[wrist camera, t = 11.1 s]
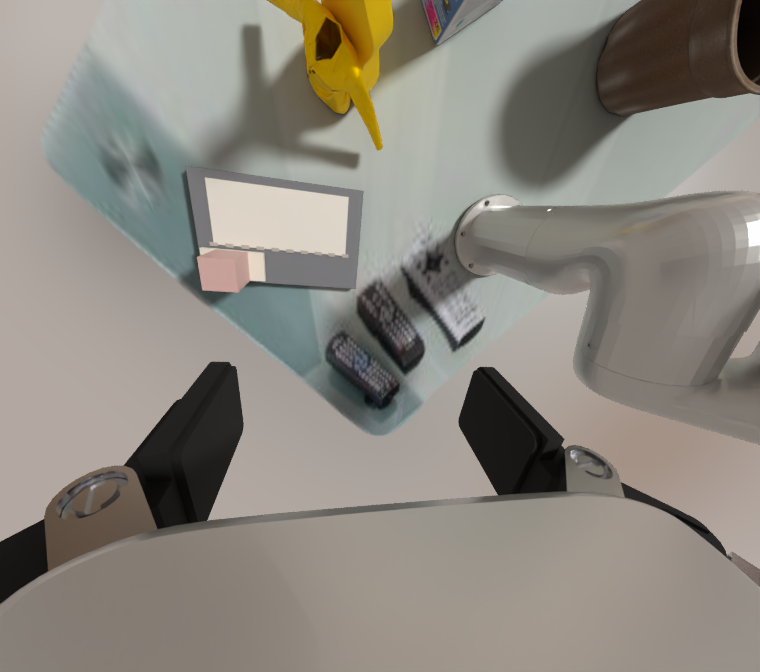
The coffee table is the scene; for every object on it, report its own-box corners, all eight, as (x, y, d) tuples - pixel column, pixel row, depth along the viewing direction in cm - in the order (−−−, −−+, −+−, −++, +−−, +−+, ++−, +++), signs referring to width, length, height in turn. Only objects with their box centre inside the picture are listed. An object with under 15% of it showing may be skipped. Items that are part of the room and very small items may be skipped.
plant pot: (674, -65, 33) (943, -274, 19) (699, 67, 40) (909, -10, 25) (564, 53, 36) (720, -47, 22) (604, 157, 43) (743, 134, 29)
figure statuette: (255, 25, 30) (122, -312, 10) (302, -40, 28) (249, -573, 9) (365, 165, 37) (409, 122, 18) (407, 119, 36) (502, 18, 17)
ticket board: (362, 191, 39) (363, 191, 37) (354, 286, 45) (355, 289, 43) (191, 167, 34) (184, 165, 33) (207, 276, 40) (203, 279, 38)
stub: (264, 252, 38) (252, 261, 32) (265, 280, 40) (255, 293, 34) (201, 247, 37) (177, 255, 31) (206, 276, 38) (183, 289, 32)
